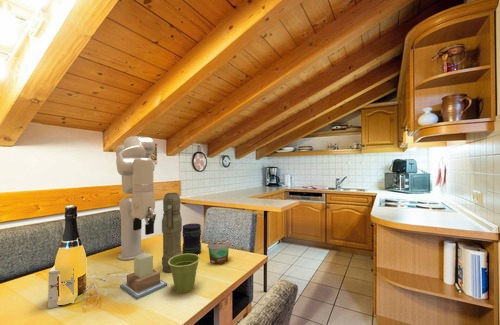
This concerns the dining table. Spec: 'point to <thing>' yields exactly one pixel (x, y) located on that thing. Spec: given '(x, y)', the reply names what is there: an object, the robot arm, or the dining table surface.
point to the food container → (219, 252)
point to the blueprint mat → (144, 292)
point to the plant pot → (184, 271)
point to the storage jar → (191, 239)
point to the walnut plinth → (143, 281)
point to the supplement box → (53, 287)
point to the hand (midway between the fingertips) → (143, 231)
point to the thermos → (171, 229)
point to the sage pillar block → (143, 265)
